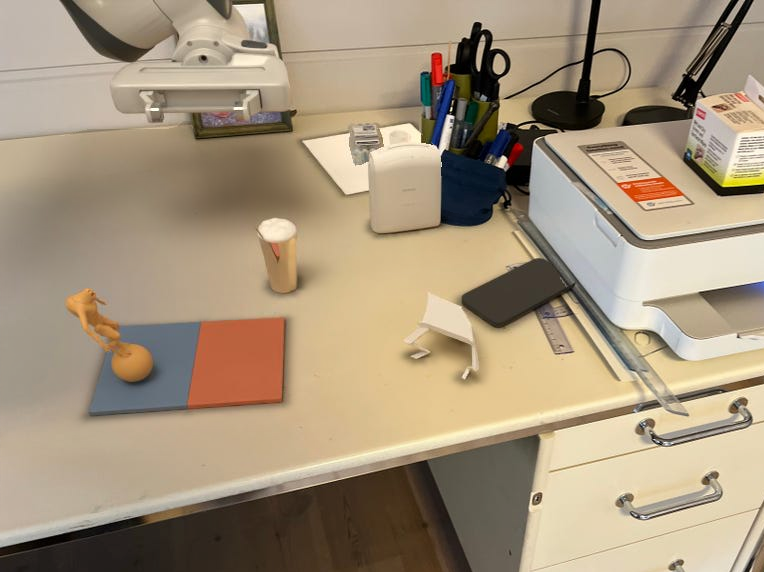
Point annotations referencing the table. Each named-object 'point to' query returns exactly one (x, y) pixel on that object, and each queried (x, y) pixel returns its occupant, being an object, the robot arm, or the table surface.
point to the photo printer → (404, 187)
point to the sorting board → (197, 367)
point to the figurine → (110, 337)
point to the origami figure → (445, 327)
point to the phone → (515, 292)
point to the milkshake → (279, 253)
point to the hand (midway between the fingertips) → (197, 116)
